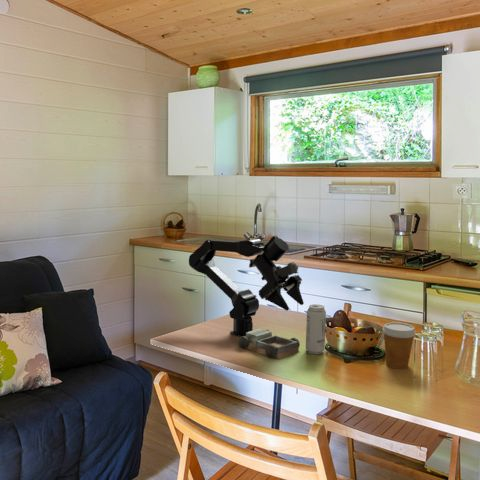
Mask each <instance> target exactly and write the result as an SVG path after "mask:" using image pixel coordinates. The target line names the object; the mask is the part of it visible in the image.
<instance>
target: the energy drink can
mask: <svg viewBox="0 0 480 480" xmlns="http://www.w3.org/2000/svg"><path fill="white" fill-rule="evenodd" d="M326 321H327V311H326V309H325V306H324V305H322V304H310V305H309V306H308V309H307V311H306V329H305V334H306V335H305V350H306V351H307V353H308V354H309V355H310V354H311V355H321V354H323V352H324V351H325V348H326V347H325V346H326V344H325V343H326V324H327V323H326Z"/></svg>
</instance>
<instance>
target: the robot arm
mask: <svg viewBox="0 0 480 480" xmlns="http://www.w3.org/2000/svg"><path fill="white" fill-rule="evenodd" d="M289 247H290V246H289V244H288V243H287V242H286V241H285V240H283V239H282V238H279V237H278V235H273V236H272V237H271V238H270V239H269V241H268V242H266V243H265V242H263V241H262V240H261V239H259V238H252V239H245V240H227V239H226V240H225V239H216V238H212V239H211V238H210V239H206V240H205V241H204V242H203V244H201V246H199V247H198V248H197V249H195V250H193V251H194V252H192V253H191V254H190V255H189V257H188V265H189V267H190V268H191V269H193V270H194V271H196V272H198V273H200V274H202V275H203V274H204V275H205V276H206V277H207V278H209V280H210V281H211V282H213V284H214V285H216V286H217V287H218V288H219V289H220V290H221V291H222V293H224V294H225V295H226V296H227V297H228V298H229V299H230V301H231V304H232V307H233V308H232V309H231V310H229V312H228V314H229V317H230V318H231V319H233V328H232V329H233V330H232V331H230V332H229V333H230V334H232V335H235V336H238V337H239V338H240V337H242V336H246V332H250V331H253V330H254V329H253V328H254V326H253V325H254V323H253V316H256V314H257V311H258V310H259V308H260V301H259V299H258V298H257V295H256V294H254V293H253V292H252V291H251V290H250V289H249V288H247V289H243V290H242V289H240V287H239V286H238V285H236V284H235V283H234V282H233V281H232V279H230V278H229V277H228V276H227V275H226V274H225V273H224V272H223V271H221V270H220V269H219V268H218V266H216V262H215V260H214V257H215V256H216V252H228V253H229V252H230V253H237V254H238V255H239V256H242V257H243V256H244V257H247V258H250V257H254V258H251V259H250V260H249V265H248V268H250V269H251V268H255V267H256V269H257V270H258V271H259V273H260V274H261V280H262V281H266V283H265V284H264V285H263V286H262V287H261V288H260V289H259V290H258V296H259V298H260V299H261V300H265V301H268V302H270V303H272V304H274V305H276V306H278V307H279V308H281V309H283V310H284V311H289V310H290V307H289V305H288V303H287V302H286V300H285V298H284V297H283V295H282V291H281V290H282V289H283V290H284V291H285V293H286V294H287V295H288V296H289V297H290V298H291V299H293V300H294V301H295V302H297V304H299V305H300V306H303V305H304V303H305V301H304V299H303V296H302V293H301V289H300V286H301V284H302V281H303V279H302V277H301V276H300V275H299V274H298V269H299V266H298V265H297V264H296V263H295V261H292V262H291V261H290V263H287V264H286V266H283V267H282V266H281V265H278V266H277V265H276V263H275V262H278V261H279V260H280V259H281V258H282V257H283V256H284V255H286V253H287V252H288V251H289V249H290V248H289Z"/></svg>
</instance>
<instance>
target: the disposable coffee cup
mask: <svg viewBox="0 0 480 480" xmlns="http://www.w3.org/2000/svg"><path fill="white" fill-rule="evenodd" d="M382 329H383V332H384V340H383V341H384V351H385V364H386V366H387V367H390V368H392V369H397V370H398V369H399V370H400V369H401V370H402V369H407V368H408V367H409V363H410V356H411V351H412V347H413V346H412V345H413V341H414V336H415V335H416V331H415V327H414V326H413V325H411V324H408V323H403V322H388V323H385V324H384V325H383V328H382Z"/></svg>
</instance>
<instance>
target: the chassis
mask: <svg viewBox="0 0 480 480" xmlns="http://www.w3.org/2000/svg"><path fill="white" fill-rule="evenodd" d="M237 344H238V346H239V347H240V348H241V349H247V350H250V351H253V352H257V353H260V354H262V355H264V356H265V355H266V357H268V358H270V359H272V358H273V359H277V360H280V359H283V358H285V357H288V356H291V355H294V354H296V353H299V352H300V346H301V345H300V340H299V339H298V338H296V337H292V338H287V337H283V336H280V335H276V334H274V335H273V333H272V331H271V330H270V329H263V328H257V329H253V331H250V332H246V336H242V337H240V336H239V338H238V342H237Z"/></svg>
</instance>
